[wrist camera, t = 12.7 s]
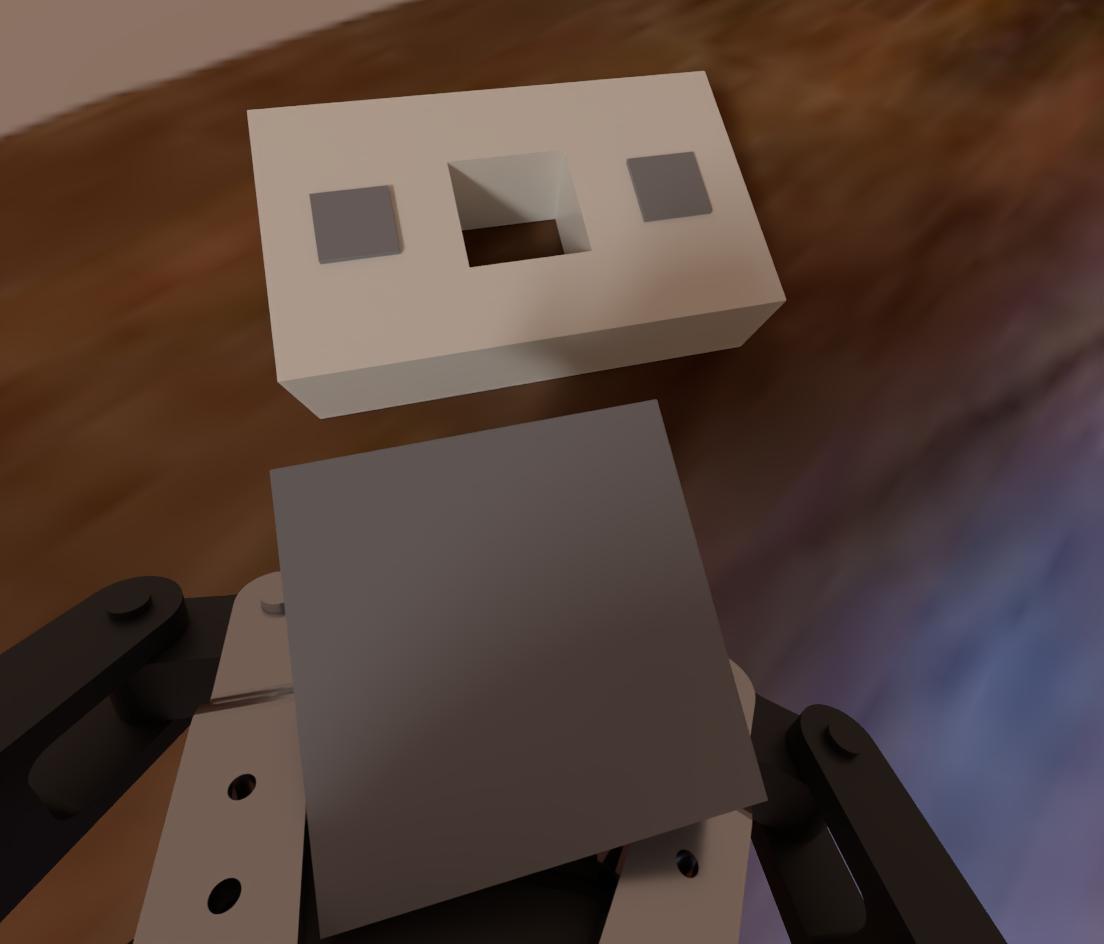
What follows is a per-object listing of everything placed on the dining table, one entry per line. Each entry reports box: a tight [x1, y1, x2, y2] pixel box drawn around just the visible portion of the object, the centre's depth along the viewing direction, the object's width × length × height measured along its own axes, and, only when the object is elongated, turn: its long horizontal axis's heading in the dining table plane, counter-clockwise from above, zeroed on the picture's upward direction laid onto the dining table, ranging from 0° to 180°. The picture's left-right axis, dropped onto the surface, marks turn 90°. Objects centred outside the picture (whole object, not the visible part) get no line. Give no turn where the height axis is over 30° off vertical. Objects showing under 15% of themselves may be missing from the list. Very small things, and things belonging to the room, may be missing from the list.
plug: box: [270, 399, 768, 939], centre depth 12 cm, size 4×4×14 cm
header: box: [247, 71, 786, 419], centre depth 21 cm, size 20×12×4 cm, turn 103°
